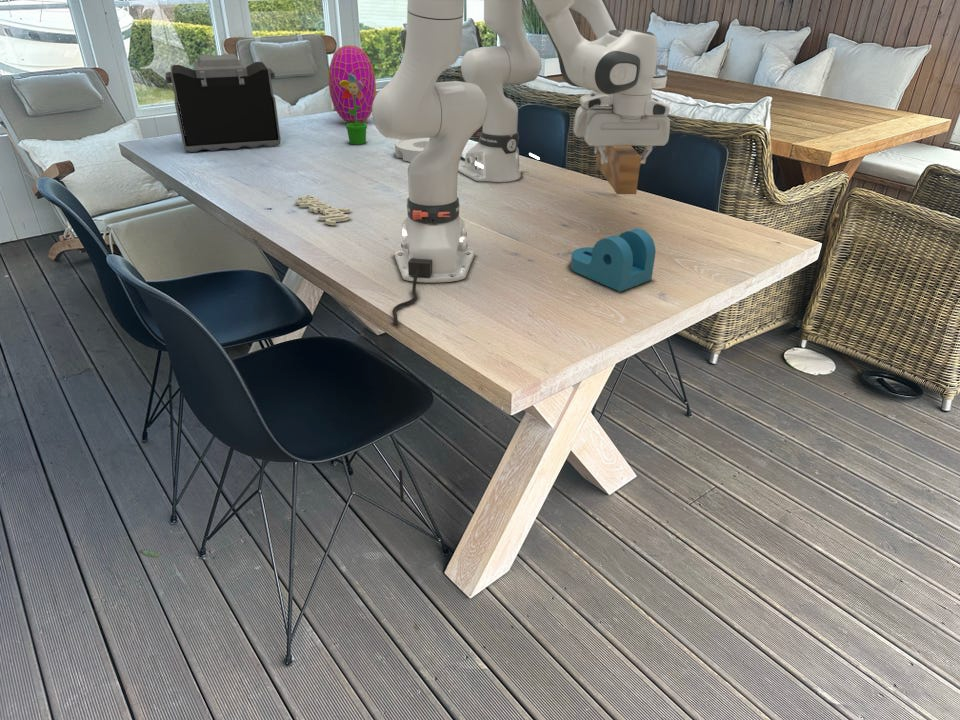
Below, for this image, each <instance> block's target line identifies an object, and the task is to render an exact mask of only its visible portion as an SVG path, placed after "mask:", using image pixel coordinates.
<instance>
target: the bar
mask: <svg viewBox="0 0 960 720" xmlns="http://www.w3.org/2000/svg"><path fill="white" fill-rule="evenodd" d="M603 152H604V154H605V155H607V156H608V157H609V160H608V164H601V155H600V154H596V160H595V165H596V167H597V168H598V169H599V171H600V172H601V174H602V175H603V176H604V178H605V180H606V181H607V183H608V184H609V185H610V186H611V188H612V189H613V191H614V192H615V194H616V195H637V193H638V192H637V190H638V185H639V184H638V183H639V177H640V168H641V164H640V161H641V156H640V155H641V154H640V153H638V151H637V150H636V149H635V148H634V146H606V148H605V150H603Z"/></svg>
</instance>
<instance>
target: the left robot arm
mask: <svg viewBox="0 0 960 720" xmlns="http://www.w3.org/2000/svg"><path fill="white" fill-rule="evenodd" d="M575 1H576V0H532V2H533V4H534V6H535V9H536V13H537V15H538V18H539V19H540V21H541V23H542V25H543V27H544V29H545V32H546V33H547V35H548V37H549V39H550V41H551V44H552V45H553V48H554V49H555V52H556V55H557V58H558V63H559V70H560V74H561V76H562V79H563V81H565V83H567V84H568V85H570V86H571V87H577V88H583V89H586V90H588V91H592V92H599V93H602V94H613V99H612V105H594V106H593V107H591V108H589V109H588V111H587V116H586V121H587V125H586V130H585V135H584V137H583V140H584V142H585V143H586V144H587V145H588V146H589V147H595V146H598V150H599V153H600V155H601V164H608V160H609V157H608V156H607V155H605V154H604V152H603V150H605V148H606V146H632V147H643V148H644V150H643V152H642V154H639V155H640V156H641V161H640V165H645V164H646V162H647V157H648V156H649V155H650V154H651V153H652V151H653V147H659V146H661V147H662V146H663V147H664V146H666V145H667V144H668V142H669V138H670V131H671V130H670V129H671V121H670V118H669V117H668V115H669V114H670V110H671V109H670V106H669V105H668V104H667V103H665V102H664V101H662V100H659V99H657V98H655V97H652V94H653V88H652V86H653V85H652V84H653V83H652V82H653V79H654V77H655V74H656V67H657V62H658V51H659V49H658V48H659V47H658V38H657V36H656V35H655V34H654V33H653V32H652V31H647V30H643V29H637V28H632V27H629V28H625V29H624V30H623V31H624V32H623V34H622V35H621V36H620V37H619V38H618V39H616V40H615V41H613V42H612V43H610V44H607V45H606V46H603V45H599V44H595V43H592V42H591V41H590V40H588V39H586V38H585V37H584V36H583V35H582V34H581V33H580V31H579V29H578V26H577V24H576V22H575V20H574V18H573V15H572V13H571V11H570V7H571V6H572V5H573V4H574V2H575ZM406 8H407V9H406V10H407V13H406V32H405V33H406V34H405V45H404V51H403V55H402V58H401V61H400V63H399V66H398V68H397V70H396V71H395V74H394V75H393V76H392V78H391V79H390V80H389V82H388V83H387V84H386V85H385V86H384V87H382V88H381V89H380V90H379V91H378V92H376V95H375V99H374V101H373V105H372V112H371V116H372V121H373V125H374V126H375V128H376V130H377V131H378V132H379V133H380V134H381V135H382V136H383V137H384V138H386V139H387V138H388V139H394V140H401V139H403V140H409V139H418V138H428V137H430V139H429V142H428V144H427V146H426V147H425V149H424V150H423V151H422V152H421V153H419V154H418V155H416V156H415V157H414V158H413V159H412V160H411V162H409V163H408V168H407V184H408V186H407V187H408V198H407V199H406V211H407V213H406V214H407V217H406V218H405V219H404V220H403V221H402V223H401V231H402V242H401V244H400V247H401V249H400V250H397V251H395V252H394V259H395V262H396V264H397V267H398V269H399V272H400V274H401V277H402V279H403V280H405V281H408V282H412V289H411V290H412V291H411V292H412V296H413V297H412V298H411V299H409V300H407V301H404V302H403V301H402V302H401V303H398V304H396V305H395V306H394V307H393V308H392V311H391V312H392V316H393V327H397V326H398V314H397V310H399V309H400V308H403V307H406V306H408V305H410V304H413V303H415V302H416V300H417V299H418V295H417V283H431V284H433V283H435V284H437V283H451V282H457V281H461V280H464V279H466V277H467V274H468V273H469V269H470V267H471V265H472V262H473V260H474V257H475V251H473V250H471V249H468V245H469V243H468V242H467V241H466V238H467V236H468V232H467V231H466V221H465V220H464V219H463V218H461V216H460V208H461V207H460V206H461V205H460V198H459V197H458V175H459V171H458V167H460V160H461V159H460V157H461V156H462V155H463V152H464V149H465V147H466V146H467V144H468V143H469V141H470V139H471V138H472V137H473V135H474V134H475V133H476V132H477V131H478V130H479V129H480V128H481V127H483V123H484V121H485V119H486V115H487V100H486V97H485V95H484V93H483V91H482V90H481V88H480V87H479V86H478V85H476V84H472V83H467V82H466V81H459V80H451V81H438V78H439V77H440V76H441V75H442V73H443V72H445V70H447V69H448V68H451V66H453V64H455V63H456V62H457V61H458V59H459V57H460V55H461V52H462V41H463V40H462V38H463V28H464V27H463V26H464V10H465V0H407V7H406ZM398 479H399V481H398V483H399V497H400V498H399V499H400V503H404V502H405V499H404V498H405V497H404V480H403V469H400V470H398Z"/></svg>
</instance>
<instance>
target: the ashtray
mask: <svg viewBox="0 0 960 720" xmlns="http://www.w3.org/2000/svg"><path fill="white" fill-rule="evenodd" d="M429 139H430V137H428V138H418V139H409V140H403V139H397V141H395V143H394V152H395V153H394V154H395V158H397V159H402V160H403V161H404V162H409V163H410V162H411V160H412V159H413V158H414V157H415V156H416V155H418V154H419V153H421V152H422V151H423V150H424V149H425V147H426V146H427V144H428V142H429Z"/></svg>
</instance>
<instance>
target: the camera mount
mask: <svg viewBox="0 0 960 720" xmlns="http://www.w3.org/2000/svg"><path fill="white" fill-rule="evenodd" d="M655 259H656V245H655V241H654V239H653V238H652V236H651V235H650V234H649V232H647V230H644V229H642V228H638V227H637V228H632V229H629V230H626V231H623V232H621V233H620V234H619V235H611V236H607V237H604V238H600V239H599V240H597V241H596V242H595V244H594V245H593V246H587V247H586V246H585V247H580V248H575V249H574V250H573V251H572V252H571V257H570V270H572V271H573V272H575V273H576V274H578V275H581V276H583V277H585V278H587V279H590V280H591V281H594V282H597V283H599V284H601V285H604V286H606V287H609V289H612V290H614V291H617V292H619V293H621V292H624V291H626V290H629V289H631V288H635V287H637V286H639V285H641V284H644V283H647V282H650V281H652V278H653V273H654V266H655Z"/></svg>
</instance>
